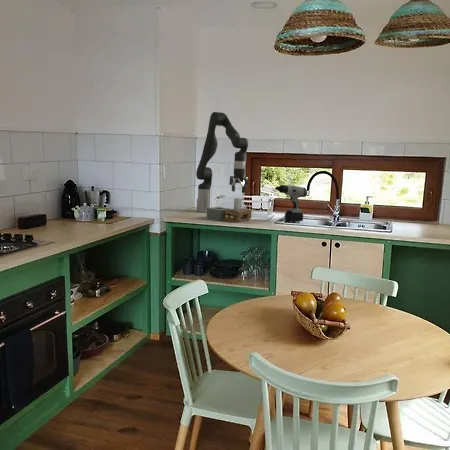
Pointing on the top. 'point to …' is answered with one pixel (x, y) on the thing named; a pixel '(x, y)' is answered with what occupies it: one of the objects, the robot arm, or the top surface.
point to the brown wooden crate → (241, 215)
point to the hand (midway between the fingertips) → (238, 192)
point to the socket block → (237, 215)
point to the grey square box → (216, 213)
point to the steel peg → (237, 204)
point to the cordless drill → (294, 194)
